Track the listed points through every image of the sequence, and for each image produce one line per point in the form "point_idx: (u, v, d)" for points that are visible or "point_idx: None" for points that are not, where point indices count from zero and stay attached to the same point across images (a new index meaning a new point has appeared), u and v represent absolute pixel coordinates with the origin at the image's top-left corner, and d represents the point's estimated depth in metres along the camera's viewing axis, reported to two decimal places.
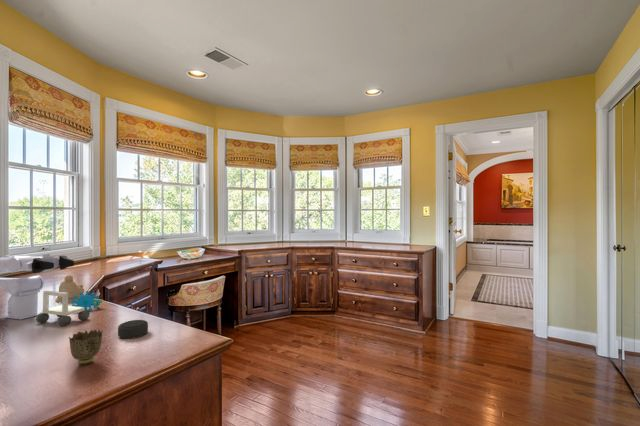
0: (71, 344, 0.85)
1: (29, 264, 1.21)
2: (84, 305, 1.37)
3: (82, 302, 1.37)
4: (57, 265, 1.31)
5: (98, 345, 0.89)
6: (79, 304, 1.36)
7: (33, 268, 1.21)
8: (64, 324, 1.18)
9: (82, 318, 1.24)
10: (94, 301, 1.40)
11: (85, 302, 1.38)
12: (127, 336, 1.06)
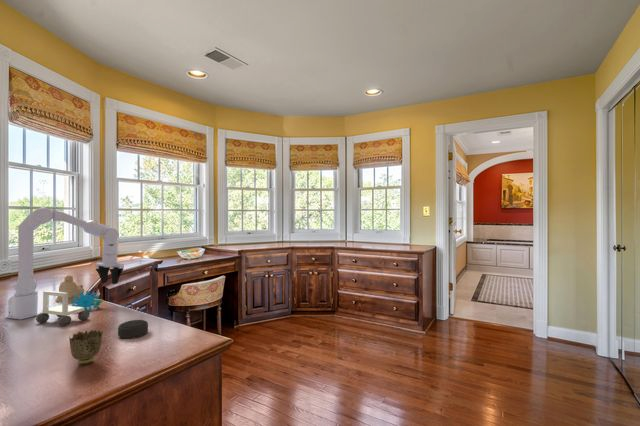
0: (71, 344, 0.85)
1: (122, 268, 1.48)
2: (84, 305, 1.37)
3: (82, 302, 1.38)
4: (101, 265, 1.49)
5: (98, 345, 0.89)
6: (79, 304, 1.36)
7: (117, 270, 1.47)
8: (64, 324, 1.18)
9: (82, 318, 1.24)
10: (94, 301, 1.40)
11: (85, 302, 1.38)
12: (127, 336, 1.06)
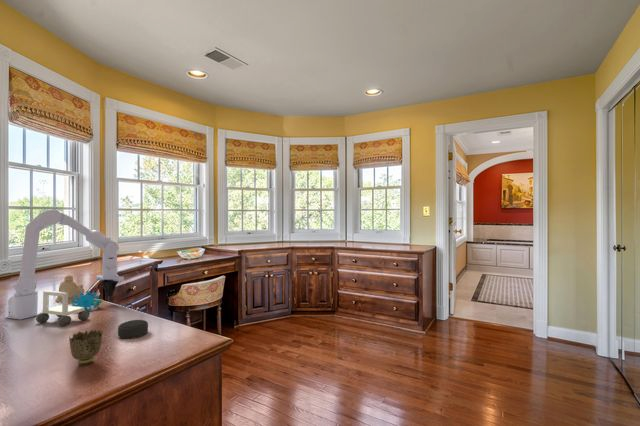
0: (71, 344, 0.85)
1: None
2: (84, 305, 1.37)
3: (82, 302, 1.38)
4: None
5: (98, 345, 0.89)
6: (79, 304, 1.37)
7: (111, 282, 1.47)
8: (64, 324, 1.18)
9: (82, 318, 1.24)
10: (94, 301, 1.40)
11: (85, 302, 1.38)
12: (127, 336, 1.06)
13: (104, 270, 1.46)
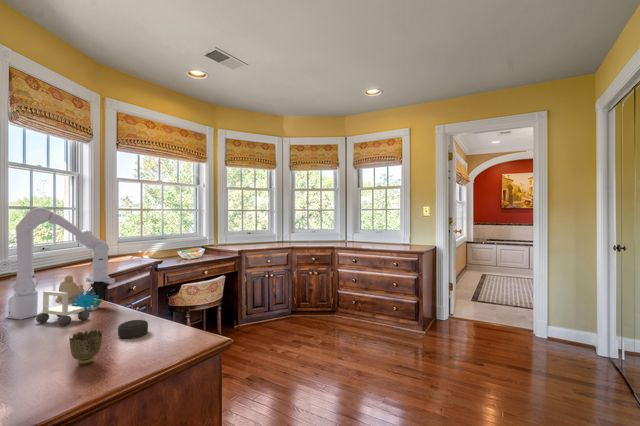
0: (71, 344, 0.85)
1: None
2: (84, 305, 1.37)
3: (82, 302, 1.38)
4: None
5: (98, 345, 0.89)
6: (79, 304, 1.37)
7: (102, 284, 1.43)
8: (64, 324, 1.18)
9: (82, 318, 1.24)
10: (94, 301, 1.40)
11: (85, 302, 1.38)
12: (127, 336, 1.06)
13: (94, 272, 1.42)
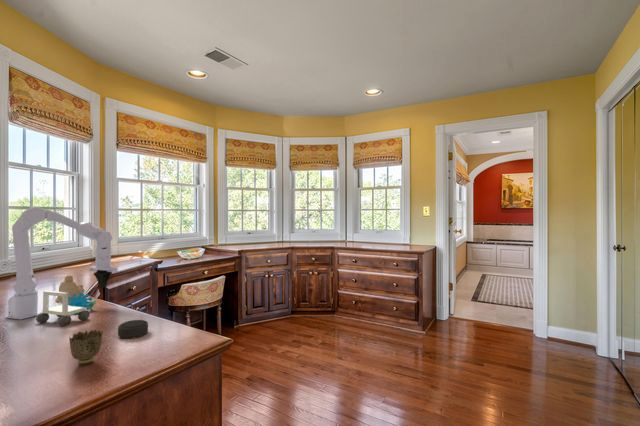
0: (71, 344, 0.85)
1: (116, 271, 1.45)
2: None
3: (75, 304, 1.35)
4: (94, 268, 1.46)
5: (98, 345, 0.89)
6: None
7: (105, 273, 1.44)
8: (64, 324, 1.18)
9: (82, 318, 1.24)
10: (87, 303, 1.37)
11: (78, 304, 1.35)
12: (127, 336, 1.06)
13: (97, 260, 1.43)
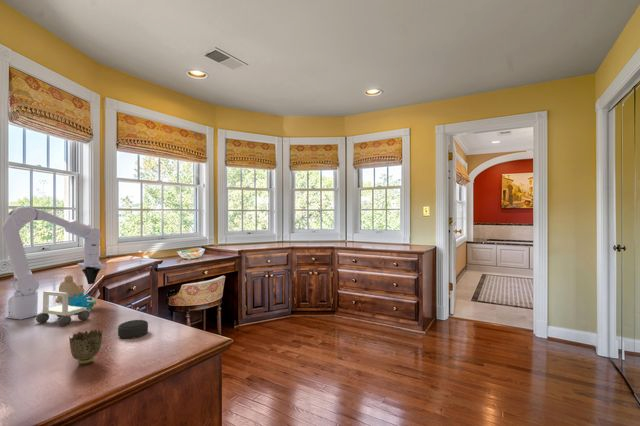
0: (71, 344, 0.85)
1: None
2: None
3: (75, 304, 1.35)
4: None
5: (98, 345, 0.89)
6: None
7: (93, 270, 1.46)
8: (64, 324, 1.18)
9: (82, 318, 1.24)
10: (87, 303, 1.37)
11: (78, 304, 1.35)
12: (127, 336, 1.06)
13: (85, 257, 1.45)
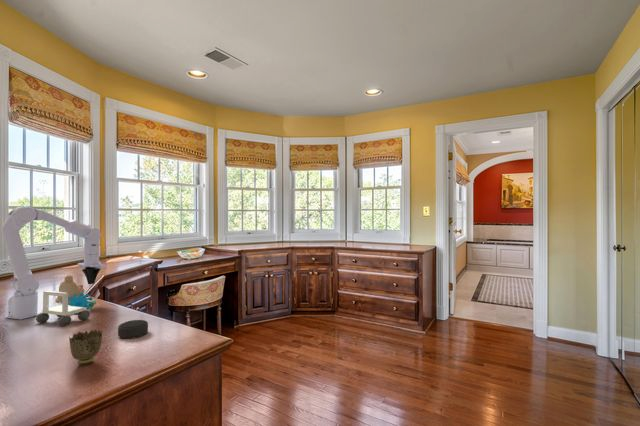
0: (71, 344, 0.85)
1: None
2: None
3: (75, 304, 1.35)
4: None
5: (98, 345, 0.89)
6: None
7: (93, 270, 1.46)
8: (64, 324, 1.18)
9: (82, 318, 1.24)
10: (87, 303, 1.37)
11: (78, 304, 1.35)
12: (127, 336, 1.06)
13: (85, 257, 1.45)
